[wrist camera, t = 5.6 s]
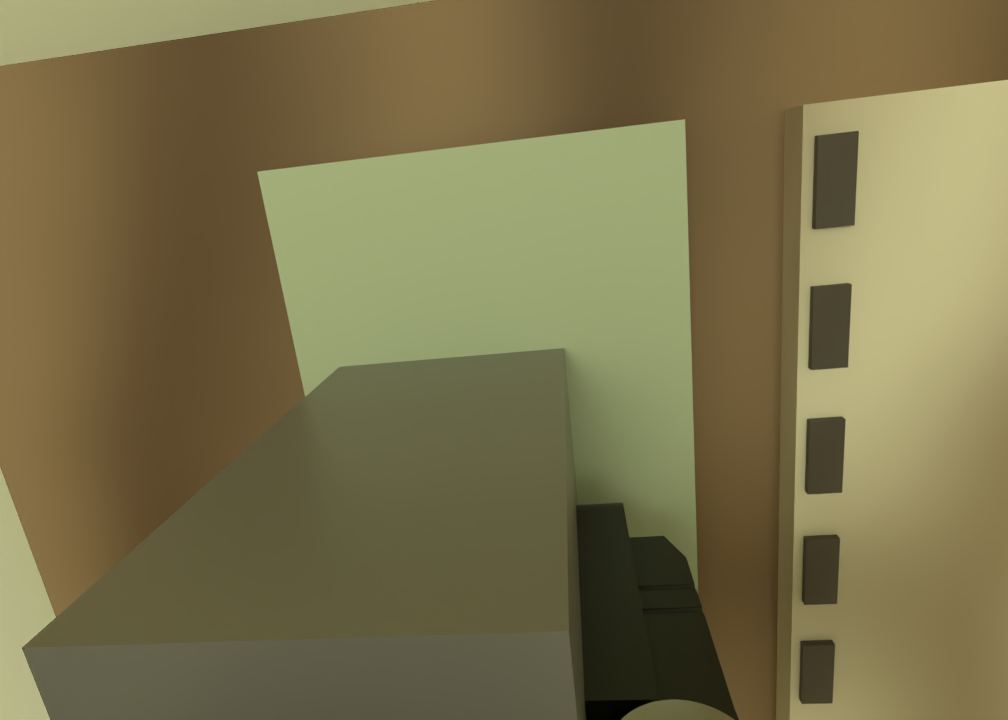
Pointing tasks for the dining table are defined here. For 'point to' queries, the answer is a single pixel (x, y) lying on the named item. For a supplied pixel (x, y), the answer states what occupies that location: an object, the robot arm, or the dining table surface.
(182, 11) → the dining table surface
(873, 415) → the brown board
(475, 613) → the green plate with block
